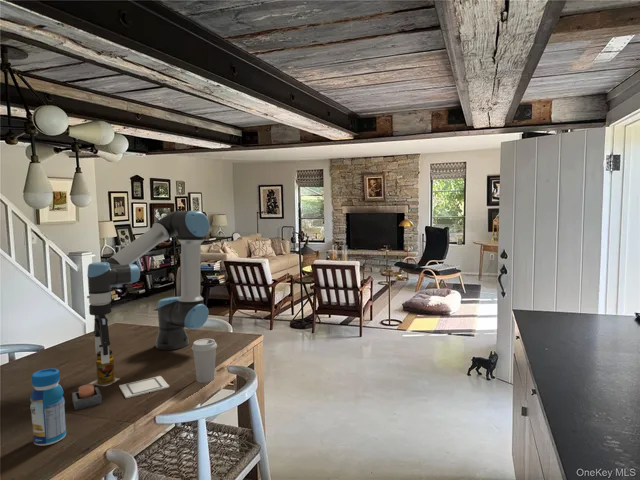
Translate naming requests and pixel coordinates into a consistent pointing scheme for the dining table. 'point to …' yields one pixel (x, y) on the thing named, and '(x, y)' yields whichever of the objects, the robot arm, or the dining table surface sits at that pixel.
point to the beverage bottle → (47, 407)
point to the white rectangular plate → (143, 386)
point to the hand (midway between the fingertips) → (102, 358)
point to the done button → (86, 390)
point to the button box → (86, 400)
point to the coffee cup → (204, 359)
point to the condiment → (105, 371)
